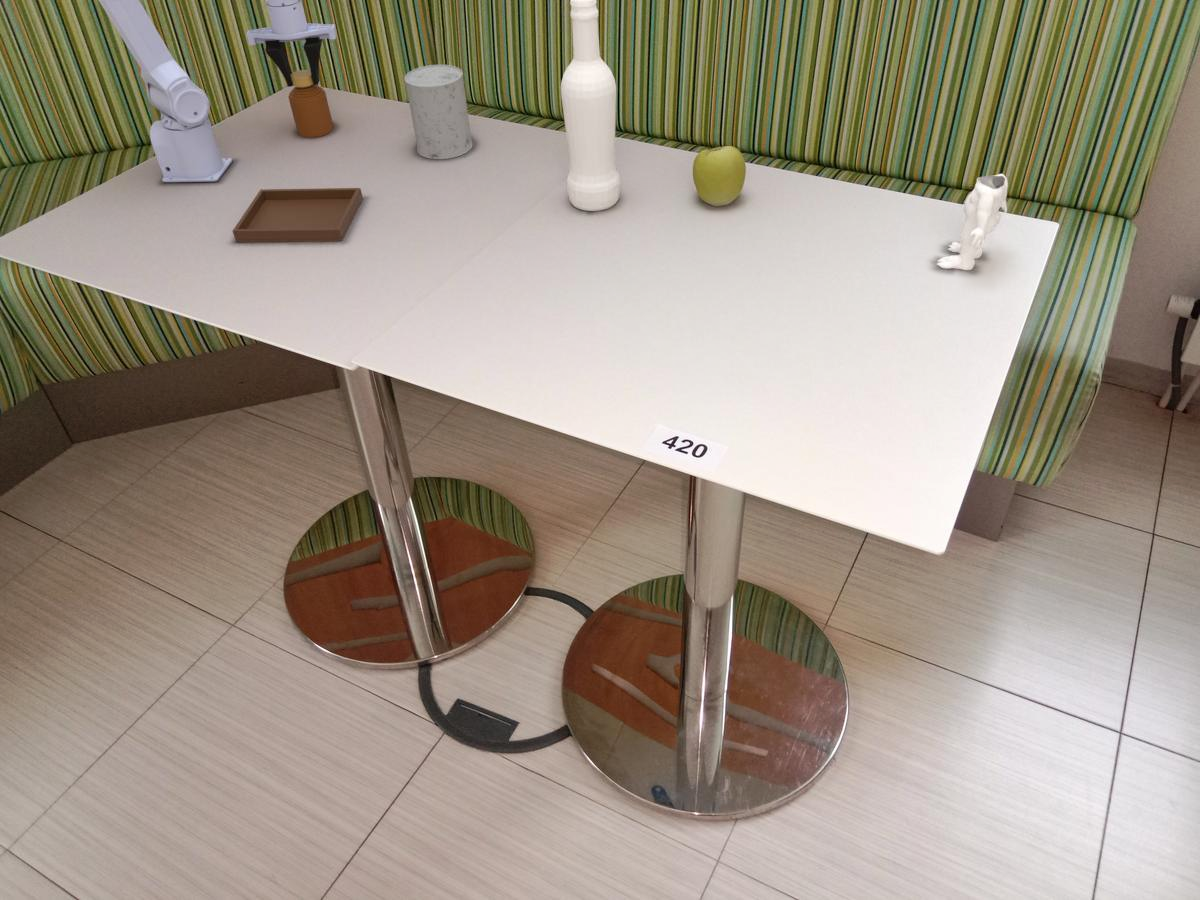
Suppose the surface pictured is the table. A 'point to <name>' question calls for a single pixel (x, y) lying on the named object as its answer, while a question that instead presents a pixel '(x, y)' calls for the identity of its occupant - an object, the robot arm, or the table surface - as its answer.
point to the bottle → (589, 115)
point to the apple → (719, 175)
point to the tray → (299, 215)
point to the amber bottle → (310, 111)
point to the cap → (301, 78)
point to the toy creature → (978, 221)
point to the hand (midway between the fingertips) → (304, 83)
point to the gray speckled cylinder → (439, 111)
